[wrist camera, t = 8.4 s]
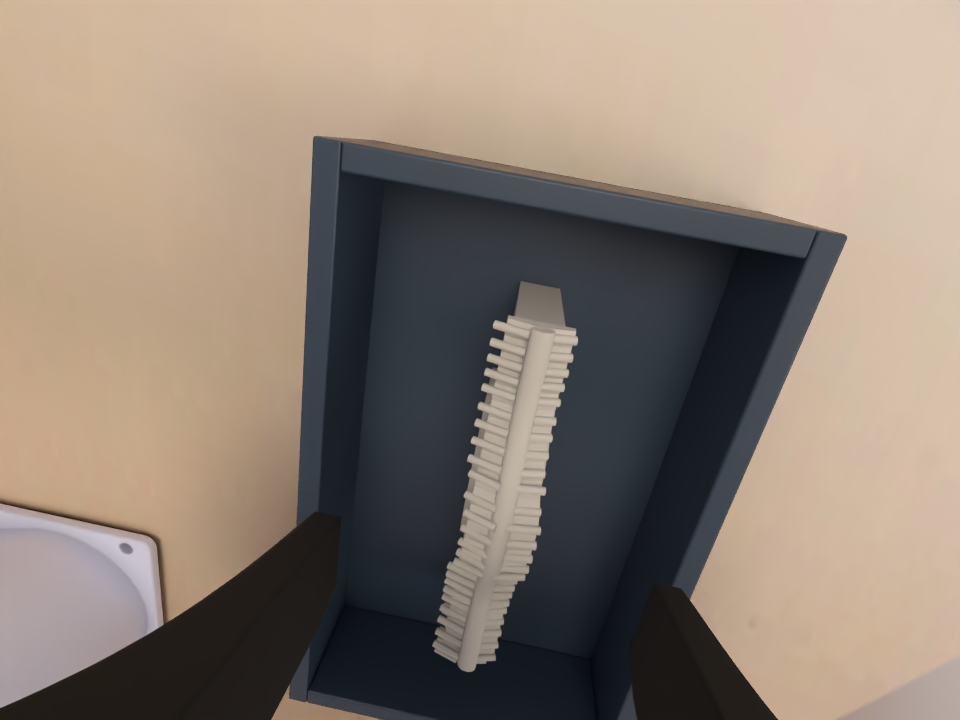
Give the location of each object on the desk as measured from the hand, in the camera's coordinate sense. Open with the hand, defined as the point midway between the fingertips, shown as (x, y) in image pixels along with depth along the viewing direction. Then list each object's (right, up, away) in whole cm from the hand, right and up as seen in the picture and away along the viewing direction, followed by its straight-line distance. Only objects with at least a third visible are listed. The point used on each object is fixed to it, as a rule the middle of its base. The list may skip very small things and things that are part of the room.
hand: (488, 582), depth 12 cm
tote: (+1, +2, +5) cm, 6 cm away
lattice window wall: (+1, +2, +5) cm, 6 cm away
